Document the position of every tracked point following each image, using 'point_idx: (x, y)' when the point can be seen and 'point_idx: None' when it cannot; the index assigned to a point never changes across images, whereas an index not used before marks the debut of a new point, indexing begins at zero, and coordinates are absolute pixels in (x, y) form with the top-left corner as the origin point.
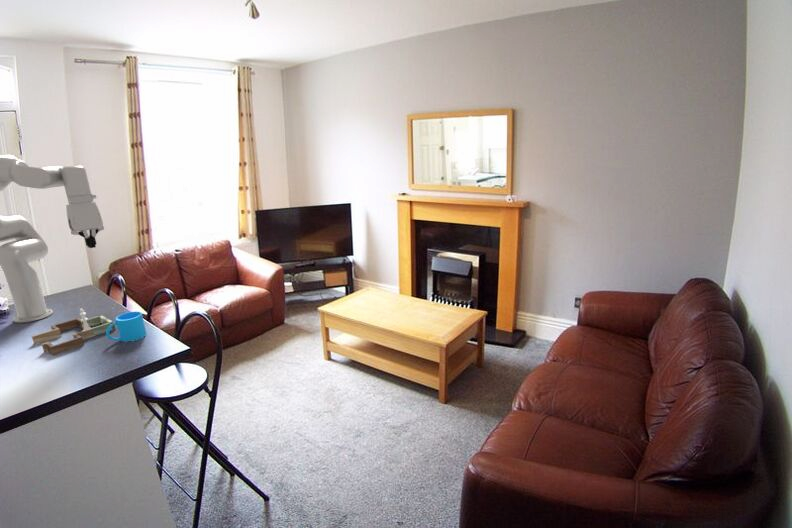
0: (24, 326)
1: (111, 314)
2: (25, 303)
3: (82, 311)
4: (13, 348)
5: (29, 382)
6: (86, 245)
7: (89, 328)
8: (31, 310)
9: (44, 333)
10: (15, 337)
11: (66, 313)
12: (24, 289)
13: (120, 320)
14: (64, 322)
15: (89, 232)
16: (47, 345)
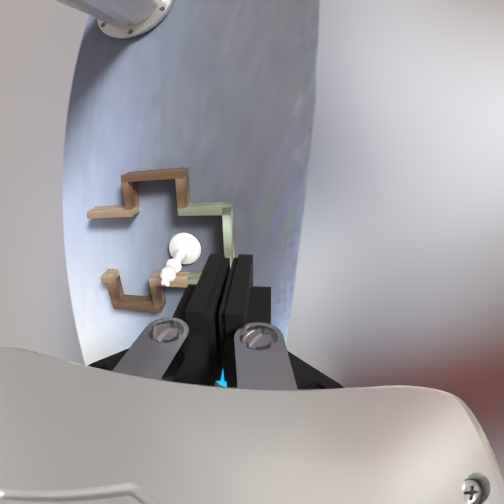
0: (102, 61)
1: (271, 158)
2: (95, 16)
3: (166, 282)
4: (70, 196)
5: (99, 351)
6: (190, 285)
7: (186, 257)
8: (114, 23)
9: (105, 217)
10: (77, 128)
11: (193, 35)
12: (76, 5)
13: (218, 382)
14: (147, 179)
15: (236, 364)
16: (109, 288)
